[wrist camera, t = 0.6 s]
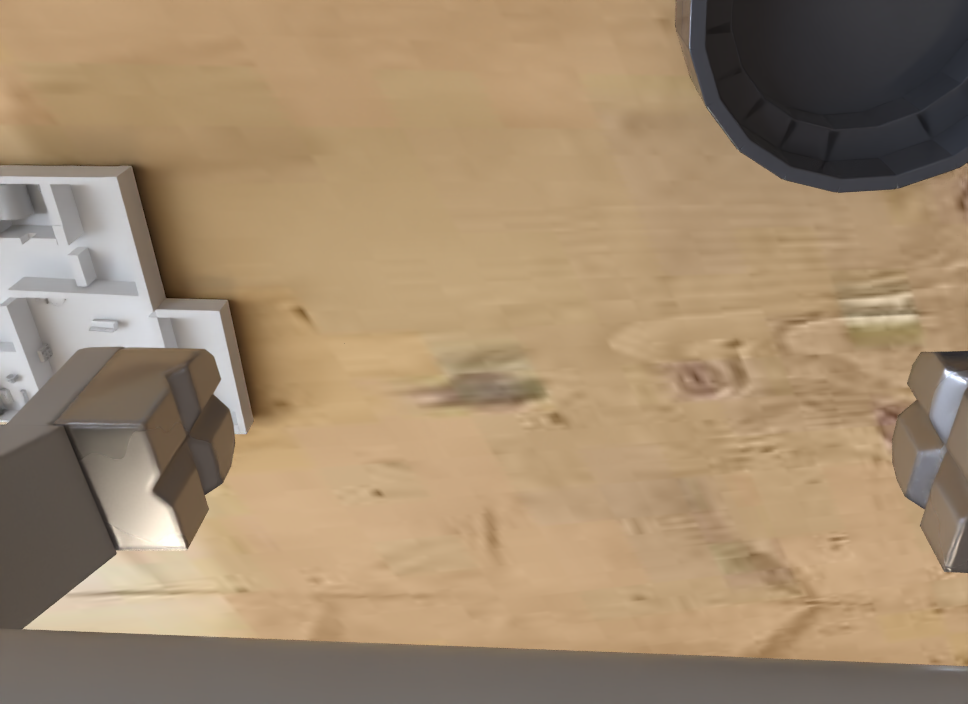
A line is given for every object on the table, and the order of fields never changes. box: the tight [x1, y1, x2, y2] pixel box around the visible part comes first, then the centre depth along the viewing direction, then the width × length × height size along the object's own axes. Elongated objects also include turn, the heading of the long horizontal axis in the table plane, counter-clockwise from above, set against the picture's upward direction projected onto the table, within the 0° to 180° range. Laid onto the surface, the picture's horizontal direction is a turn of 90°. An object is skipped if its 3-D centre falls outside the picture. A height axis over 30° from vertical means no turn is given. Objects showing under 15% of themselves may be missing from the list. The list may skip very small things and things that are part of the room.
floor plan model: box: [0, 165, 345, 434], centre depth 43 cm, size 19×25×2 cm
